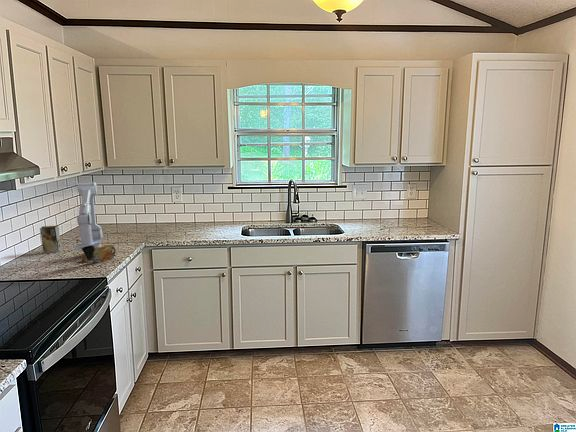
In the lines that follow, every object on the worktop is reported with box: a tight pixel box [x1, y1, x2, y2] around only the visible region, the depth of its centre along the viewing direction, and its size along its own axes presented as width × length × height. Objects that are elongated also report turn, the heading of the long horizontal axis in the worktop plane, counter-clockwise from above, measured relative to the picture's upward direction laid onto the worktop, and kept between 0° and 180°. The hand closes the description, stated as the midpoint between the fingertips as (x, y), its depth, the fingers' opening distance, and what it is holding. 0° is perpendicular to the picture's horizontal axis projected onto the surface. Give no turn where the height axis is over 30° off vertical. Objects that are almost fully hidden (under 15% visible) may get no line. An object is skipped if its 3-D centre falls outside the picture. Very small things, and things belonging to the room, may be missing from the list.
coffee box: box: [39, 225, 62, 254], centre depth 265 cm, size 9×6×16 cm
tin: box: [91, 244, 116, 263], centre depth 242 cm, size 15×3×8 cm, turn 151°
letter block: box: [80, 252, 93, 263], centre depth 243 cm, size 5×4×5 cm
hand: (89, 259), depth 235 cm, fingers closed
